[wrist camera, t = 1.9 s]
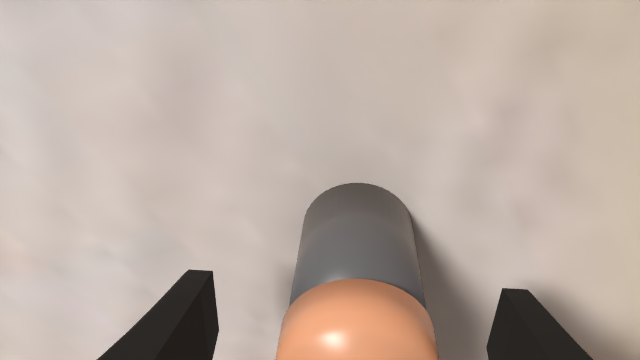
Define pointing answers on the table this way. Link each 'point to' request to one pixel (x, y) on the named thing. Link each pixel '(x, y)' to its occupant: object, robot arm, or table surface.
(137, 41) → the table surface
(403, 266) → the orange-topped grey cylinder
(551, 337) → the robot arm
